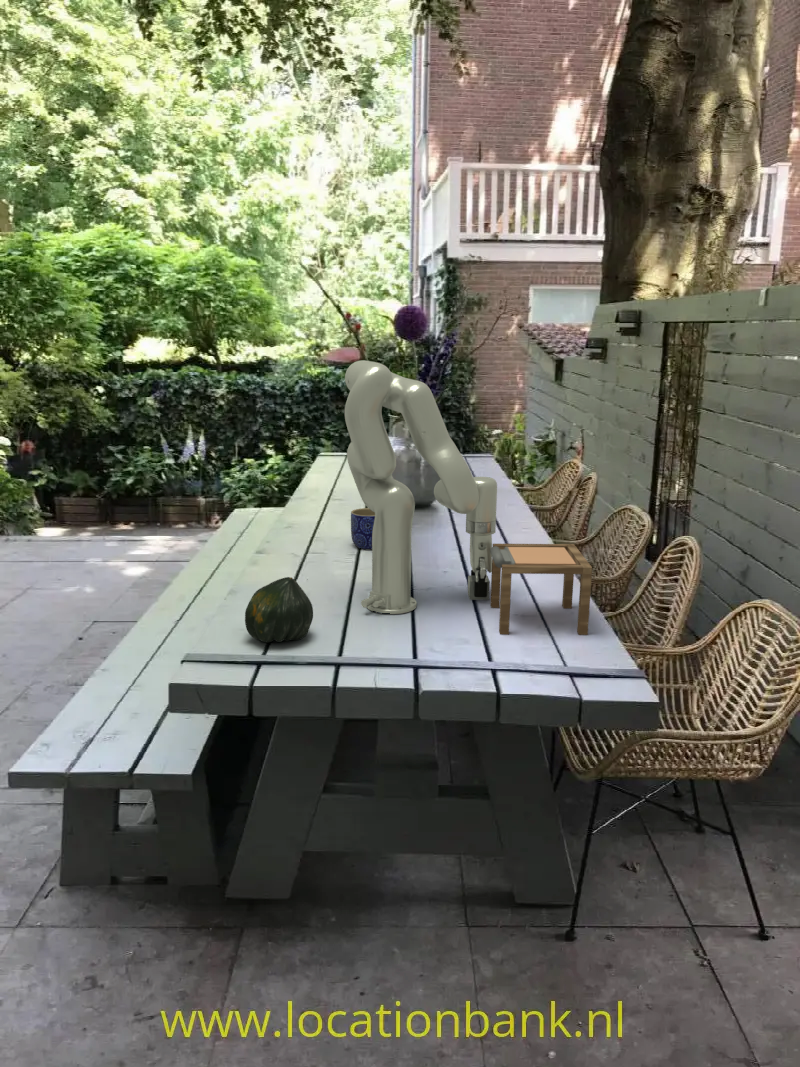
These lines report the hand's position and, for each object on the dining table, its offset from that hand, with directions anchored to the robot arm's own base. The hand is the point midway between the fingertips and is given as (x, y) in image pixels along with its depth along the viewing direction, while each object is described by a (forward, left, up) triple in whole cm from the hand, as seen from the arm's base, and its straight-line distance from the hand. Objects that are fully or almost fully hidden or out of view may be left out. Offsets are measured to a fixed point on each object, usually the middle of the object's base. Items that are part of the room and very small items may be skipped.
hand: (478, 590), depth 222 cm
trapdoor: (-7, -18, +13) cm, 23 cm away
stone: (0, 0, -2) cm, 2 cm away
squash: (-52, +20, -2) cm, 56 cm away
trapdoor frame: (-6, -20, -2) cm, 21 cm away
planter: (+20, +52, -2) cm, 56 cm away
